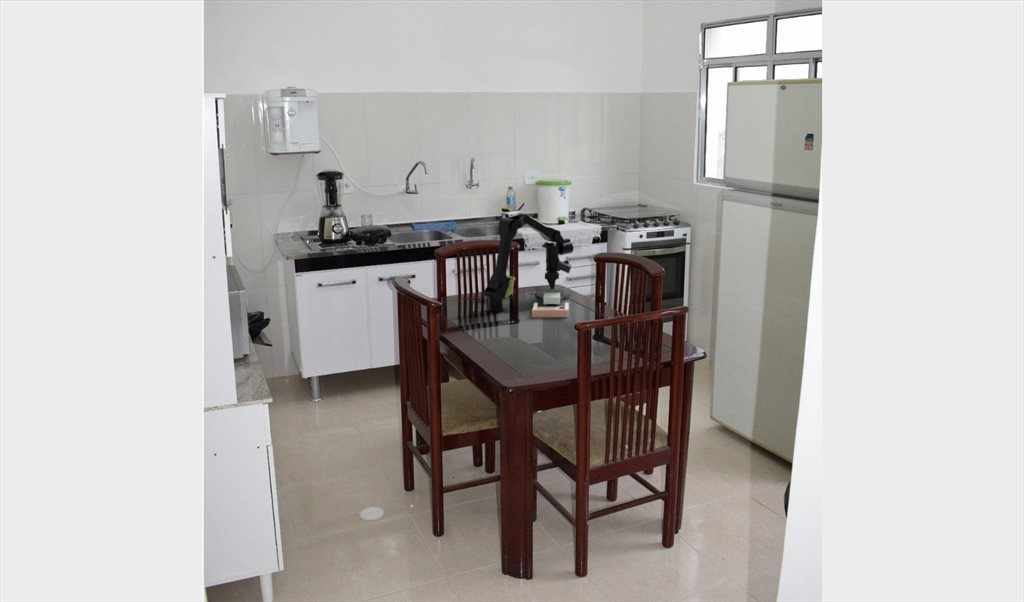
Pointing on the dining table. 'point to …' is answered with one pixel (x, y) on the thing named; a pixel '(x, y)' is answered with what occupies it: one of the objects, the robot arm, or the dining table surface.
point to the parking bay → (549, 311)
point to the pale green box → (551, 296)
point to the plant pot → (510, 286)
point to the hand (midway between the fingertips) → (552, 290)
